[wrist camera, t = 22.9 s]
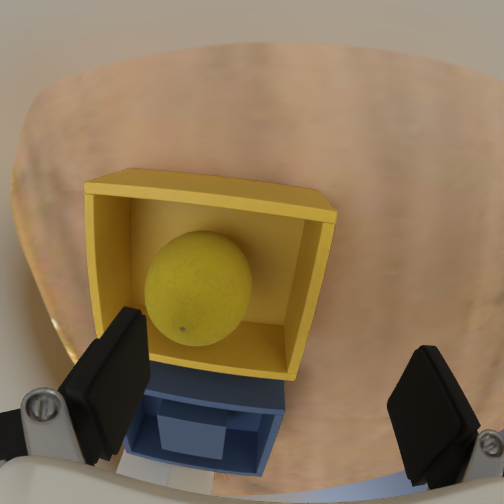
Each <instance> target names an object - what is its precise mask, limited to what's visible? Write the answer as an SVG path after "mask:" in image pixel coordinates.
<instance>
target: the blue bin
mask: <svg viewBox="0 0 504 504" xmlns="http://www.w3.org/2000/svg"><path fill="white" fill-rule="evenodd" d="M150 371H151V375H150V381H149V383H148V385H147V388H146V390H145V392H144V394H143V397H142V399H141V401H140V403H139V406H138V408H137V410H136V412H135V415H134V417H133V419H132V422H131V424H130V426H129V429H128V431H127V433H126V436H125V438H124V440H123V444H124V447H125V450H126V453H128V454H131V455H135V456H139V457H143V458H147V459H151V460H155V461H159V462H163V463H168V464H173V465H178V466H183V467H188V468H194V469H199V470H206V471H212V472H220V473H228V474H236V475H247V476H259V477H261V476H262V474H263V472H264V469H265V466H266V464H267V461H268V458H269V456H270V453H271V450H272V447H273V445H274V442H275V439H276V436H277V433H278V430H279V427H280V425H281V422H282V419H283V416H284V413H285V395H284V380H279V379H269V378H259V377H250V376H242V375H234V374H227V373H220V372H213V371H207V370H200V369H194V368H189V367H183V366H178V365H172V364H167V363H162V362H157V361H152V360H150ZM162 399H168V400H173V401H178V402H183V403H189V404H194V405H200V406H206V407H213V408H219V409H227V410H228V418H227V426H226V434H225V441H224V448H223V456H222V459H221V460H220V459H213V458H207V457H200V456H194V455H189V454H183V453H178V452H173V451H169V450H164V449H162V446H161V440H160V433H159V426H158V419H157V413H158V410H159V407H160V404H161V402H162Z"/></svg>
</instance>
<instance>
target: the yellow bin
mask: <svg viewBox="0 0 504 504" xmlns="http://www.w3.org/2000/svg"><path fill="white" fill-rule="evenodd" d="M84 193H85V195H84V205H85V235H86V251H87V264H88V275H89V285H90V293H91V301H92V309H93V316H94V322H95V328H96V334H97V338H100V337H101V336H102V334H103V333H104V332H105V330H106V329H107V328H108V326H109V325H110V324H111V322H112V321H113V320H114V318H115V317H116V316H117V314H118V313H119V312H120V311H121V309H122V308H123V307H124V306H126V307H131V308H136V309H140V310H141V312H142V314H143V315H146V318H147V334H148V348H149V360H152V361H157V362H162V363H167V364H172V365H178V366H183V367H189V368H194V369H200V370H207V371H213V372H220V373H227V374H234V375H242V376H250V377H259V378H269V379H279V380H291V381H295V378H296V375H297V372H298V369H299V365H300V362H301V359H302V355H303V352H304V348H305V345H306V341H307V338H308V334H309V331H310V327H311V323H312V320H313V316H314V312H315V308H316V305H317V301H318V297H319V293H320V289H321V285H322V281H323V277H324V273H325V268H326V264H327V260H328V256H329V251H330V247H331V242H332V238H333V233H334V228H335V223H336V218H337V214H338V212H337V211H336V210H335V209H334V207H333V206H332V205H331V204H330V203H329V202H328V201H327V200H326V199H325V198H324V197H323V196H322V195H321V193H320V192H319V191H318V190H313V189H307V188H301V187H294V186H288V185H281V184H274V183H267V182H260V181H253V180H245V179H237V178H229V177H221V176H212V175H203V174H193V173H183V172H172V171H160V170H148V169H134V168H128V169H124V170H121V171H117V172H114V173H111V174H108V175H105V176H102V177H98V178H95V179H92V180H89V181H86V182H85V183H84ZM199 230H201V231H212V232H215V233H218V234H221V235H223V236H225V237H226V238H228V239H230V240H231V241H233V242H234V243H235V244H236V245H237V246H238V247H239V248H240V250H241V251H242V252H243V254H244V256H245V258H246V259H247V261H248V264H249V267H250V271H251V275H252V295H251V299H250V302H249V305H248V308H247V311H246V313H245V315H244V317H243V319H242V320H241V321H240V323H239V324H238V326H237V327H236V329H235V330H234V331H233V332H231V333H230V334H229V335H228V336H226V337H225V338H224V339H222V340H220V341H218V342H216V343H214V344H211V345H206V346H187V345H183V344H179V343H177V342H175V341H173V340H171V339H169V338H168V337H166V336H165V335H164V334H162V333H161V332H160V331H159V330H158V329H157V328H156V326H155V325H154V324H153V322H152V320H151V319H150V317H149V315H148V312H147V308H146V305H145V291H144V289H145V282H146V278H147V274H148V271H149V268H150V265H151V263H152V262H153V260H154V258H155V257H156V255H157V254H158V252H159V251H160V250H161V249H162V248H163V247H164V246H165V245H166V244H167V243H169V242H170V241H171V240H172V239H174V238H176V237H178V236H180V235H182V234H185V233H187V232H193V231H199Z"/></svg>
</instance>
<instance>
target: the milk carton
mask: <svg viewBox="0 0 504 504" xmlns="http://www.w3.org/2000/svg"><path fill="white" fill-rule="evenodd" d="M116 473H118V474H121V475H124V476H128V477H131V478H134V479H138V480H142V481H145V482H149V483H153V484H157V485H161V486H166V487H170V488H175V489H179V490H184V491H189V492H194V493H199V494H205V495H211V492H212V485H213V478H214V472H212V471H206V470H199V469H194V468H188V467H183V466H178V465H173V464H168V463H163V462H159V461H155V460H151V459H147V458H143V457H139V456H135V455H131V454H128V453H126V450H124V453H123V455H122V458H121V460H120V463H119V466H118V468H117V471H116Z"/></svg>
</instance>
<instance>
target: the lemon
mask: <svg viewBox="0 0 504 504" xmlns="http://www.w3.org/2000/svg"><path fill="white" fill-rule="evenodd" d="M144 291H145V305H146V308H147V312H148V315H149V317H150V319H151V320H152V322H153V324H154V325H155V326H156V328H157V329H158V330H159V331H160V332H161V333H162V334H164V335H165V336H166V337H168V338H169V339H171V340H173V341H175V342H177V343H179V344H183V345H187V346H206V345H211V344H214V343H216V342H218V341H220V340H222V339H224V338H225V337H226V336H228V335H229V334H230V333H231V332H233V331H234V330H235V329H236V327H237V326H238V324H239V323H240V321H241V320H242V319H243V317H244V315H245V313H246V311H247V308H248V305H249V302H250V299H251V295H252V275H251V271H250V267H249V264H248V261H247V259H246V258H245V256H244V254H243V252H242V251H241V250H240V248H239V247H238V246H237V245H236V244H235V243H234V242H233V241H231V240H230V239H228V238H226V237H225V236H223V235H221V234H218V233H215V232H212V231H201V230H199V231H193V232H187V233H185V234H182V235H180V236H178V237H176V238H174V239H172V240H171V241H170V242H169V243H167V244H166V245H165V246H164V247H163V248H162V249H161V250H160V251H159V252H158V254H157V255H156V257H155V258H154V260H153V262H152V263H151V265H150V268H149V271H148V274H147V278H146V282H145V289H144Z"/></svg>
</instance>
